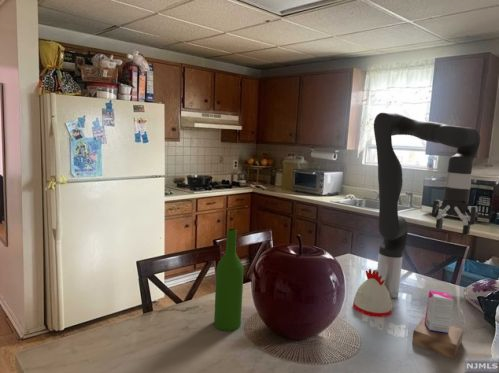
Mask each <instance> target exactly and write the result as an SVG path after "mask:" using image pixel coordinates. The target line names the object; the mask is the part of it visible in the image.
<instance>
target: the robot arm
mask: <svg viewBox="0 0 499 373" xmlns="http://www.w3.org/2000/svg"><path fill="white" fill-rule="evenodd" d="M373 133H374V140H375V147H376V160H377V181H378V199H379V200H378V201H379V202H378V203H379V210H378V227H377V228H378V232H379V234H380V236H381V237H382V238H383V240H382V242H381V244H380V245H379V249H378V257H377V258H378V259H377V268H376V269H374V270H375V274H376V272H377V271H378V272H379V276H382V277H381V282H382V281H383V280H385V281H384V283H383V284H384V285H385V286H386V288H387V290H388V291H389V294H390V298H391V299H396V298H398V297H399V294H400V293H399V292H400V284H401V276H402V267H403V266H402V265H403V256H404V251H405V250H406V245H407V239H408V234H409V233H408V232H409V226H408V222H407V220H406V218H404V217H403V216H401V215H399V211H398V210H399V209H398V208H399V207H398V204H399V200H400V196H401V193H402V190H403V167H402V164H401V162H400V160H399V158H398V156H397V154H396V153H395V151H394V147H393V140H392V137H393V136H412V137H414V138H417V139H419V140H421V141H426V142H431V143H434V144H441V145H444V146H447V147H451V148H456V149H457V150H456V153H455V154H454V155H451V156H450V158H449V159H448V165H447V174H446V177H445V184H444V191H443V201H442V200H440V199H435V200H434V201H433V204H432V209H431V210H432V211H431V217H434V218H435V219H436V222H435V228H436V230H437V231H442V229H443V222H444V219H443V218H444V217H446V216H447V215H448V216H454V217H456V218H457V217H459V218H460V220H461V221H462V222H463V225H462V235H461V236H463V237H467V236H468V235H469V234H470V230H471V225H472V226H473V225H477V224H478V222H479V221H478V220H479V219H478V218H479V207H478V205H475V206H471V205H469V201H470V192H471V187H472V170H473V162H474V160H475V157H476V155H477V153H478V150H479V147H480V143H481V135H480V132H479V131H478V130H477V129H476V128H474V127H469V126H459V125H451V124H450V125H449V124H446V123H442V122H435V121H428V120H427V121H426V120H420V119H419V120H418V119H414V118H410V117H408V116H405V115H402V114H399V113H397V112H384V111H383V112H379V113H378V114H376V116H375V117H374V120H373ZM441 206H442V208H443V209H442V210H441V211H440V207H441ZM439 211H440V212H439ZM467 211H469V213H470V218H469V215H468V213H467Z"/></svg>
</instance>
